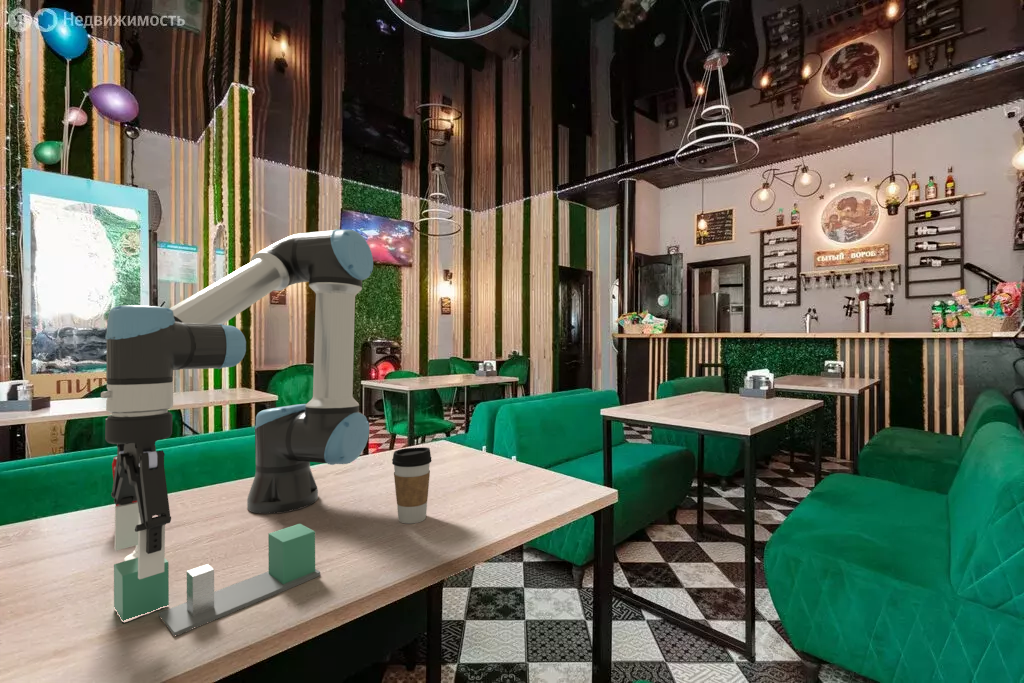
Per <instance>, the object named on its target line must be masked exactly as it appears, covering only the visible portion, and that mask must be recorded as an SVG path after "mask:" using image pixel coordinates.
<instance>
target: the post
mask: <svg viewBox="0 0 1024 683" xmlns="http://www.w3.org/2000/svg"><path fill="white" fill-rule="evenodd" d="M214 592H215V569H214V568H213V567H212V566H211V565H209V564H208V563H206V564H204V565H200V566H197V567H194V568H191V569H189V570H186V602H187V610H188V611H189V612H190V614H191V615H192V616H195V615H198V614H200V613H203V612H205V611H208V610H210V609H213V608H214Z"/></svg>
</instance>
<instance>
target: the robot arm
mask: <svg viewBox="0 0 1024 683" xmlns="http://www.w3.org/2000/svg"><path fill="white" fill-rule="evenodd" d="M367 242H368V241H367V240H366V238H364V236H363V235H362V234H360V233H359V232H358V231H356V230H353V229H340V228H335V229H332V230H324V231H323V230H321V231H310V232H300V233H299V232H298V233H295V234H292V235H289V236H287V237H284V238H282V239H280V240H278V241H276V242H274V243H272V244H270V245H269V246H267V247H265V248H263V249H261V250H260V251H258V252H256V253H254V254H253V255H252V256H251V258H250V262H248V263H247V264H245V265H243V266H241V267H239V268H238V269H236V270H234V271H232V272H231V273H229V274H226V276H224V277H222V278H220V279H219V280H217V281H216V282H213V283H210V285H208V286H207V287H205V288H203V289H201V290H199V291H198V292H195V293H194V294H192V295H190V296H188V297H186V298H185V299H183V300H182V301H179V302H178V303H176V304H175V305H173V306H171V307H170V308H169V307H163V306H157V305H152V306H151V305H136V304H134V305H131V304H127V305H123V304H122V305H117V306H114V307H111V309H110V310H109V312H108V317H107V321H106V323H107V325H106V333H105V340H106V389H107V391H105V390H104V391H102V392H100V398H102V399H106V402H105V403H106V406H105V409H106V410H105V411H106V412H108V413H109V414H110V415H108V416H107V418H105V427H104V428H105V429H104V430H105V431H104V432H105V434H104V437H105V441H106V442H107V443H108V444H112V445H116V447H117V452H116V453H117V455H116V456H117V461H116V468H115V475H114V481H113V483H112V488H111V489H112V490H111V491H112V492H111V493H110V495H111V497H112V499H114V500H113V504H115V506H114V547H113V548H114V551H117V552H118V551H120V550H124V549H127V548H131V547H134V546H135V547H136V545H138V578H139V579H143V578H146V577H149V576H152V575H156V574H159V573H162V572H164V563H165V559H166V557H165V555H166V552H165V550H166V547H165V546H166V545H165V544H166V543H165V542H166V540H165V539H166V525H167V524H170V523H171V522H172V516H171V511H170V510H171V509H170V501H169V496H168V495H169V494H168V489H167V488H168V486H167V481H166V480H167V479H166V478H167V476H166V470H165V455H166V454H165V451H164V450H157V448H156V442H157V441H159V440H160V441H161V440H166V439H168V438H170V437H171V436H172V435H173V413H172V412H171V411H169V410H170V409H172V408H173V407H174V371H178V370H179V371H180V370H204V369H205V370H207V369H208V370H209V369H218V370H221V369H224V368H232V367H235V366H237V365H239V363H241V362H242V360H243V359H244V358H245V355H246V352H247V341H246V337H245V335H244V333H243V332H242V331H241V330H240V328H238V327H237V326H233V325H227V324H225V323H227V322H228V321H230V320H232V319H233V318H234V317H236V316H237V315H239V314H240V313H241V312H243V311H245V310H246V309H248V308H250V307H251V306H252V305H254V304H255V303H257V302H259V301H260V300H262V299H263V298H264V297H266V296H267V295H269V294H271V293H272V292H273V291H275V292H276V291H283V290H285V289H286V288H288V287H289V286H292V285H295V284H298V283H299V284H300V283H307V282H308V287H309V288H310V289H311V290H312V291H313V292H314V293H315V314H314V316H315V317H314V345H313V346H314V350H313V353H314V354H313V380H312V381H313V382H312V383H313V385H312V388H313V389H312V398H311V399H310V400H309V401H308V402H307V403H301V404H300V403H299V404H292V405H285V406H278V407H272V408H267V409H263V410H261V411H259V412H257V414H256V416H255V427H254V438H255V439H254V442H255V443H254V444H255V445H254V446H255V449H254V450H255V474H254V479H253V481H252V484H251V486H250V490H249V493H248V495H247V501H246V502H247V503H246V506H247V508H246V509H247V510H248V511H249V512H251V513H255V514H260V515H261V514H263V515H269V514H271V515H272V514H273V515H274V514H281V513H288V512H292V511H296V510H301V509H304V508H307V507H309V506H310V505H313V504H314V503H315V502H317V501H318V499H319V495H318V494H319V490H318V489H319V488H318V486H317V483H316V480H315V478H314V475H313V473H312V470H311V463H319V464H320V463H321V464H327V465H332V466H335V465H348V464H350V463H352V462H354V461H356V460H357V459H358V458H359V457H360V456H361V454H362V453H363V451H364V449H365V448H366V446H367V443H368V439H369V434H370V424H369V421H368V418H367V417H366V415H364V414H363V413H361V412H360V404H359V402H358V401H357V400H356V399H355V398H354V397H353V391H354V389H353V388H354V387H353V385H354V352H355V351H354V350H355V349H354V348H355V347H354V346H355V344H354V343H355V316H356V315H355V311H356V308H355V307H356V296H357V294H359V293H360V292H361V291H362V290H363V281H364V280H366V279H368V278H370V276H371V274H372V272H373V269H374V258H373V253H372V250H371V248H370V245H369V244H368V243H367ZM132 501H137V502H134V503H132ZM117 504H119V506H116V505H117ZM139 514H140V520H141V524H139ZM138 531H139V538H138Z"/></svg>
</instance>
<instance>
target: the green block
mask: <svg viewBox="0 0 1024 683" xmlns="http://www.w3.org/2000/svg"><path fill="white" fill-rule="evenodd" d="M169 571H170V570H169V561H168V560H167V558H165V563H164V572H162V573H159V574H156V575H152V576H149V577H146V578H143V579H139V578H138V558H134V559H131V560H127V561H124V560H123V561H121V562H118V563H114V564H113V608H114V607H115V609H116V610H117V612H118V614H119V615H120V617H121V619H122V620H123V621H124V620H126V619H129V618H132V617H135V616H138V615H141V614H145V613H147V612H151V611H153V610H156V609H158V608H160V607H163V606H167V605H169V604H170V603H169V601H170V600H169V599H170V597H169V596H170V595H169V593H170V592H169V590H170V589H169V587H170V586H169V584H170V583H169V573H170V572H169ZM169 606H170V605H169Z"/></svg>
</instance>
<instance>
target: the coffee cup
mask: <svg viewBox="0 0 1024 683" xmlns="http://www.w3.org/2000/svg"><path fill="white" fill-rule="evenodd" d="M430 449H431V448H430V447H426V446H425V447H421V446H420V447H409V448H408V447H407V448H406V447H405V448H400V449H396V450H395V451H394V452H393V456H392V459H391V461H392V465H393V467H394V472H393V476H394V477H393V478H394V479H393V480H394V487H395V499H396V506H397V507H396V508H397V519H398V521H399V522H400V523H402V524H409V525H410V524H411V525H412V524H417V523H421V522H423V521H425V519H427V509H428V508H427V507H428V497H429V487H430V478H431V476H430V474H431V471H430V464H431V463H432V462H433V461H432V455H431V450H430Z"/></svg>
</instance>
